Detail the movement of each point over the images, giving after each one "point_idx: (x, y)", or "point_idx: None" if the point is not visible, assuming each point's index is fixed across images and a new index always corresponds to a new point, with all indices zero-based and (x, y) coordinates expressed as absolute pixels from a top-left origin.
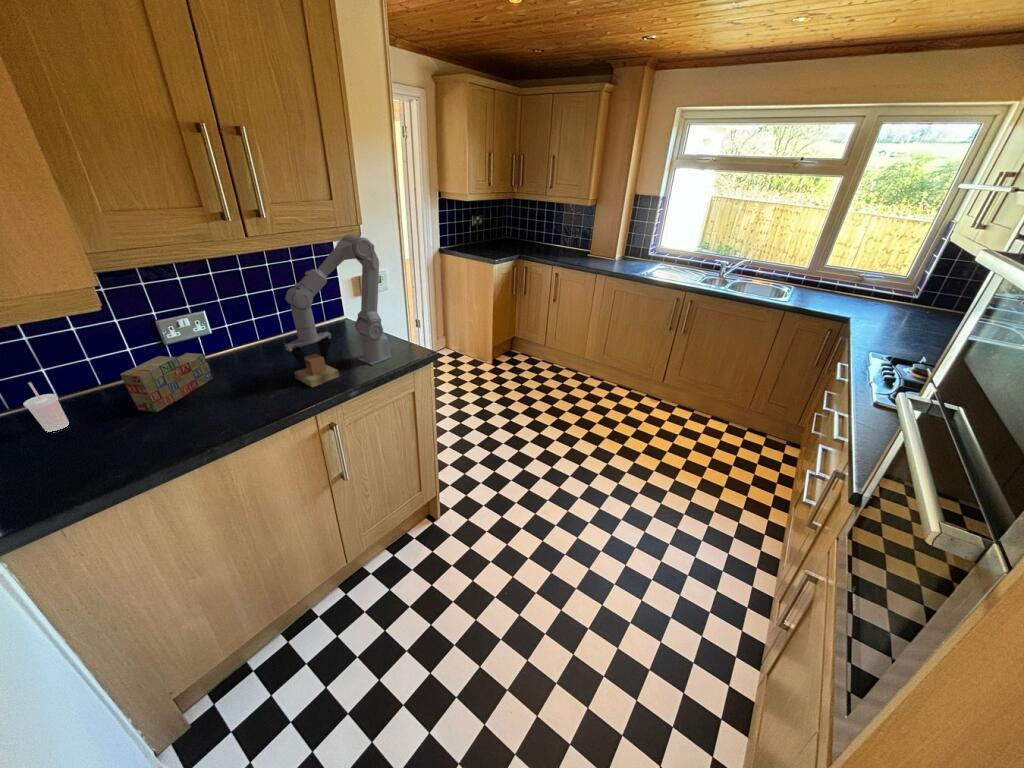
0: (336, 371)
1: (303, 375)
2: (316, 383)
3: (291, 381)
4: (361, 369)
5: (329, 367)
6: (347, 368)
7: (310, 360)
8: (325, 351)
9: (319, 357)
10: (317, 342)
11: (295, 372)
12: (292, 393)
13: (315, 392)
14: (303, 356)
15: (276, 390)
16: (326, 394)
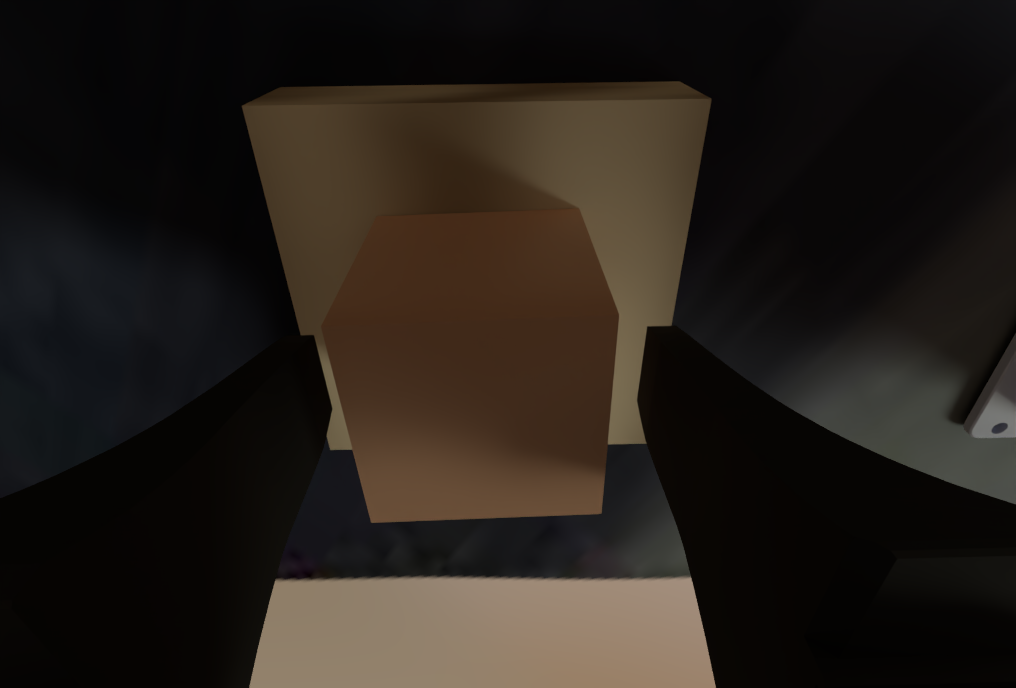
0: (625, 439)
1: (315, 299)
2: None
3: (210, 120)
4: (846, 419)
5: (644, 333)
6: (812, 311)
7: (397, 489)
8: (691, 555)
9: (554, 489)
10: (803, 527)
11: (255, 130)
12: (165, 375)
13: (335, 478)
14: (249, 631)
15: (14, 206)
16: (385, 542)
